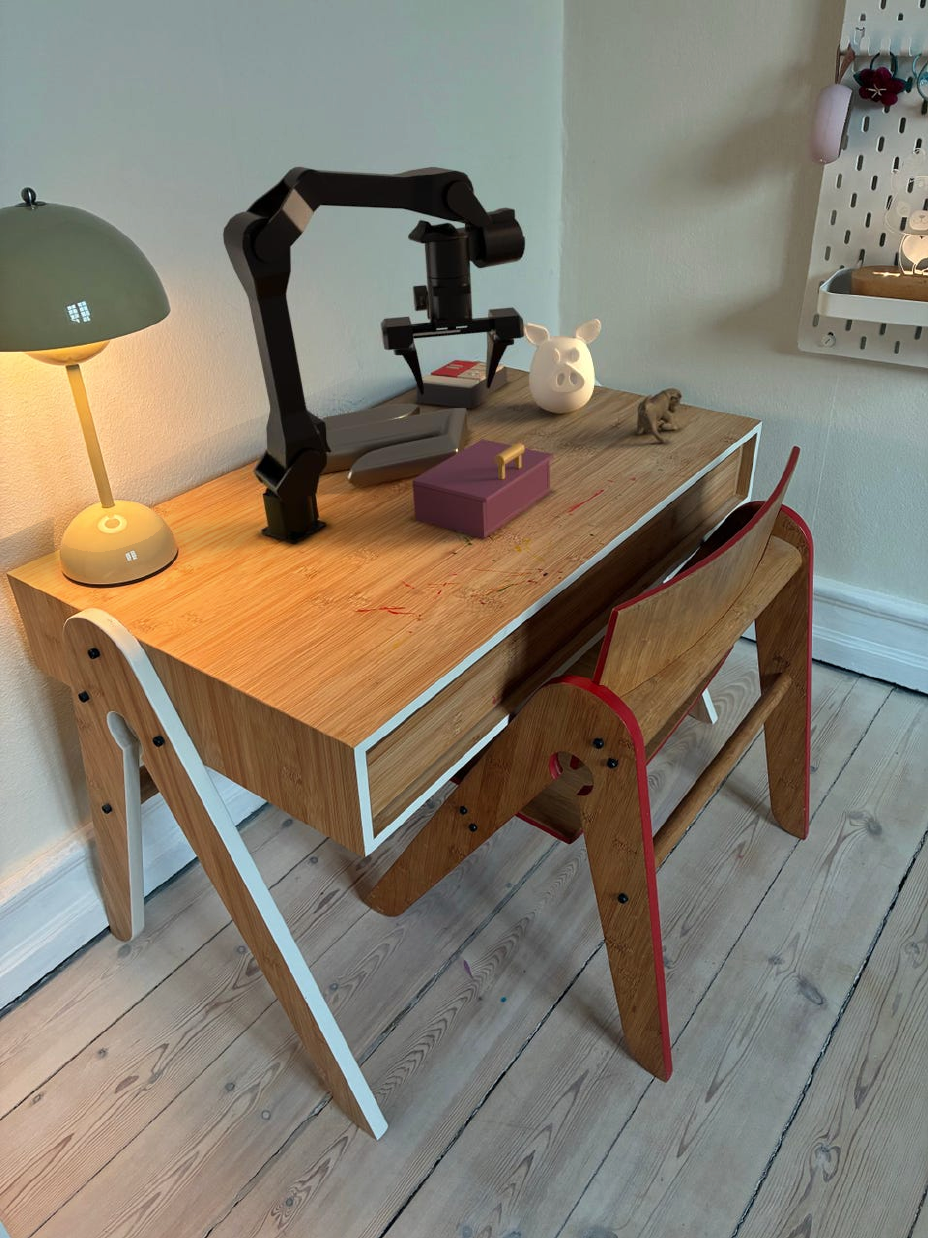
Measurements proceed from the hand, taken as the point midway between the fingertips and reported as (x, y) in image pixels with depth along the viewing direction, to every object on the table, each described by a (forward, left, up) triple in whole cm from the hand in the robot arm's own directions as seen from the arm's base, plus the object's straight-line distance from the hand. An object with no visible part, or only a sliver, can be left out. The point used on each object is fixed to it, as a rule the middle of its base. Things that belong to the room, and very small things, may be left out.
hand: (455, 390), depth 134 cm
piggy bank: (+32, +1, -14) cm, 35 cm away
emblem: (+3, +16, -14) cm, 22 cm away
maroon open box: (-5, -8, -14) cm, 16 cm away
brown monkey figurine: (+31, -17, -14) cm, 38 cm away
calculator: (+32, +22, -14) cm, 41 cm away
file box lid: (-5, -8, -8) cm, 13 cm away
